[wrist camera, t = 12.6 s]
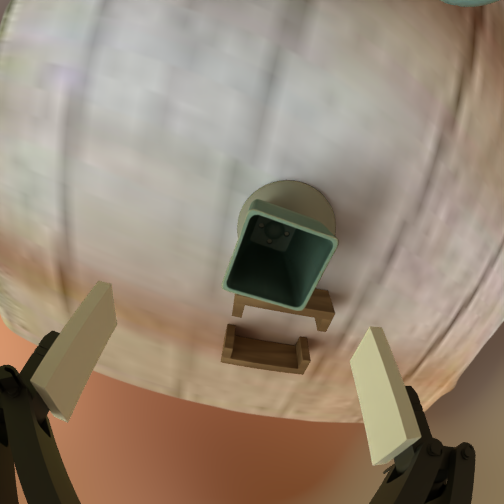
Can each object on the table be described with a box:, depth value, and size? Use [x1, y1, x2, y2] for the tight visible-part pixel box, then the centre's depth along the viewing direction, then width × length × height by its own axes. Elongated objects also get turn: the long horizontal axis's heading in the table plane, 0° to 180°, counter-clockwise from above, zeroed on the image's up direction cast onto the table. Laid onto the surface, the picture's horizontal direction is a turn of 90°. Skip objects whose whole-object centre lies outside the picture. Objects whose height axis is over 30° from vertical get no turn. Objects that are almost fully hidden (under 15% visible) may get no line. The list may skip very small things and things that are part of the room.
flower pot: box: [222, 199, 339, 311], centre depth 31 cm, size 9×9×9 cm
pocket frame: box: [221, 288, 335, 375], centre depth 40 cm, size 13×13×5 cm
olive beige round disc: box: [237, 180, 336, 243], centre depth 35 cm, size 12×12×1 cm
